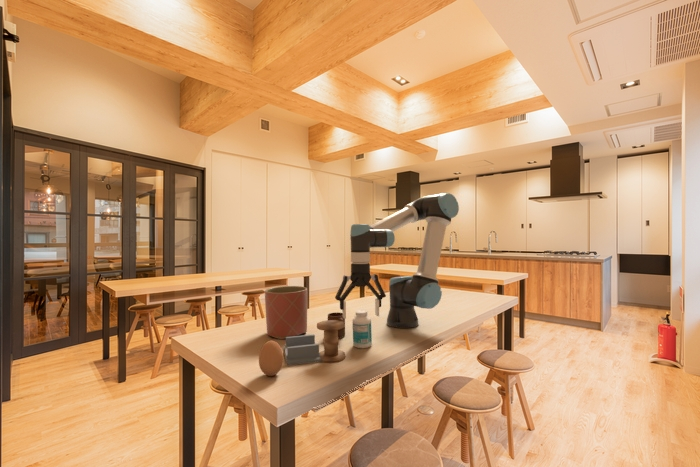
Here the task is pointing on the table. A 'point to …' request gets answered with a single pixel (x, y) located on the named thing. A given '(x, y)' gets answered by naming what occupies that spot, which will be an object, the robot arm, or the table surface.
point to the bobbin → (331, 341)
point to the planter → (286, 311)
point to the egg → (271, 358)
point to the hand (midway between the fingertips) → (360, 316)
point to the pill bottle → (362, 330)
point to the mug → (340, 318)
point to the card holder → (301, 350)
